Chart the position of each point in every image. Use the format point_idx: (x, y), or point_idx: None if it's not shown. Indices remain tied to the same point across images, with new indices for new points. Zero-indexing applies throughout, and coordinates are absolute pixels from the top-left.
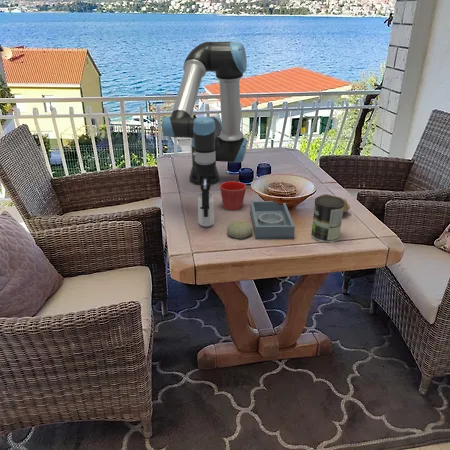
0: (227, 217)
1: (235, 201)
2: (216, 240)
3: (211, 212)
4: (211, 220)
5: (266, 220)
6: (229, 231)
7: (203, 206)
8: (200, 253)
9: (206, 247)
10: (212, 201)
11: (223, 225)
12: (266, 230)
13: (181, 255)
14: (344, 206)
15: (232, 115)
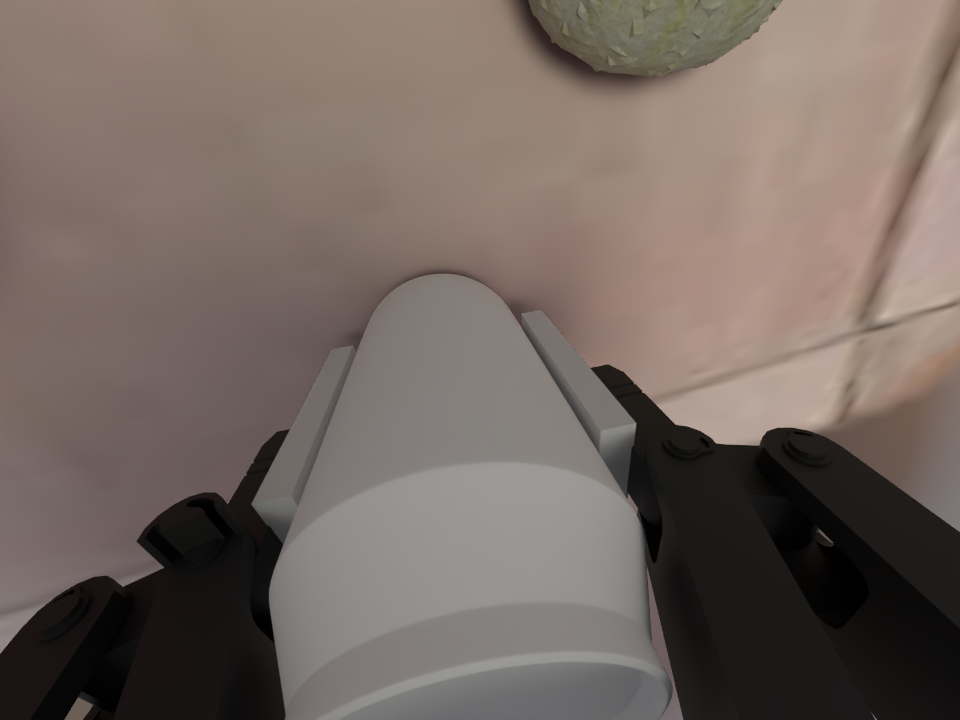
0: (168, 134)
1: None
2: (739, 190)
3: (528, 351)
4: (504, 306)
5: None
6: (770, 13)
7: (833, 545)
8: (891, 281)
9: (827, 255)
10: (570, 475)
11: (418, 161)
12: None
13: (861, 382)
14: None
15: None
